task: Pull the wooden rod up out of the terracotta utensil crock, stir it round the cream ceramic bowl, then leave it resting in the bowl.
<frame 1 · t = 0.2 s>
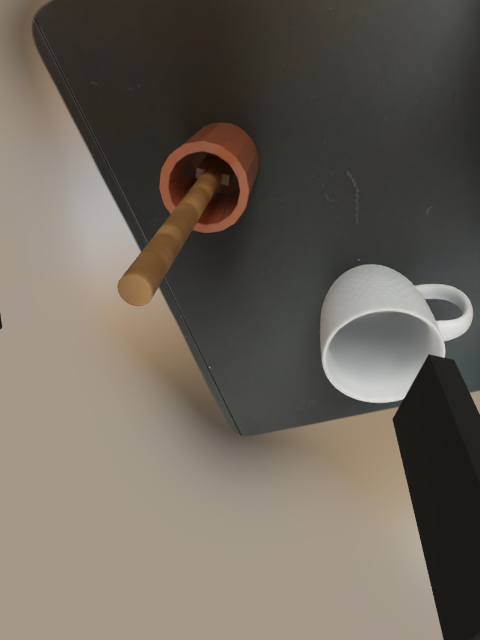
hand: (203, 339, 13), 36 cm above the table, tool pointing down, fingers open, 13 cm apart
crock: (222, 162, 45), on the table
mug: (375, 288, 51), on the table
wooden rod: (221, 164, 44), point 1 cm above the table, touching crock
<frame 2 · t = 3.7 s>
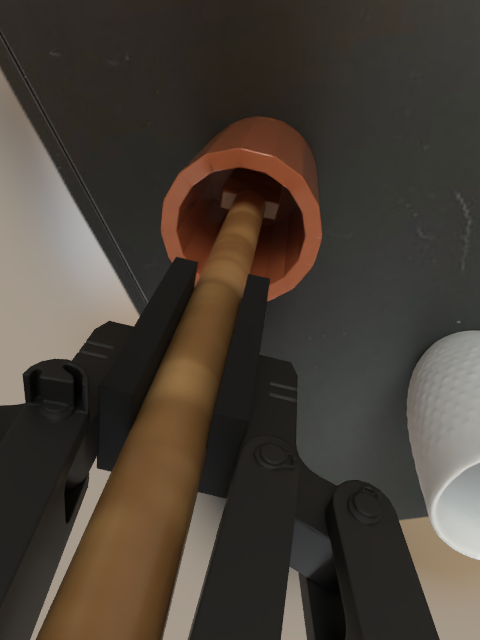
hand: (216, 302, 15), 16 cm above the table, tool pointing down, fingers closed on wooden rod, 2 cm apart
crock: (258, 178, 29), on the table
mug: (477, 361, 35), on the table
wooden rod: (257, 181, 28), point 1 cm above the table, touching gripper
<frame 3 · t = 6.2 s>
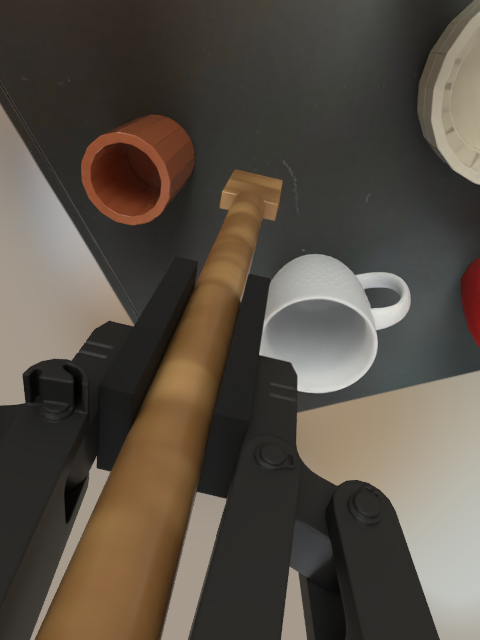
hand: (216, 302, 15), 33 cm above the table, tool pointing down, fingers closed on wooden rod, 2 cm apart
crock: (158, 154, 45), on the table
mug: (322, 279, 50), on the table
wooden rod: (257, 182, 28), point 17 cm above the table, touching gripper
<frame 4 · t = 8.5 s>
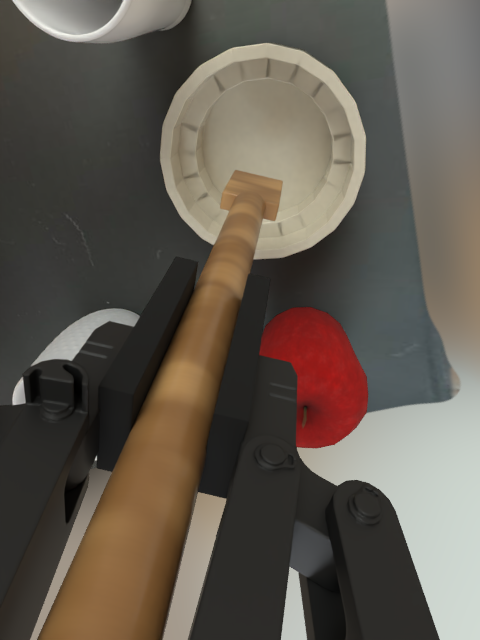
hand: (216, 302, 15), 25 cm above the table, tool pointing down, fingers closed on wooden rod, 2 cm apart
bowl: (266, 147, 36), on the table
mug: (134, 331, 48), on the table
wooden rod: (257, 182, 28), point 10 cm above the table, touching gripper
apple: (304, 331, 46), on the table
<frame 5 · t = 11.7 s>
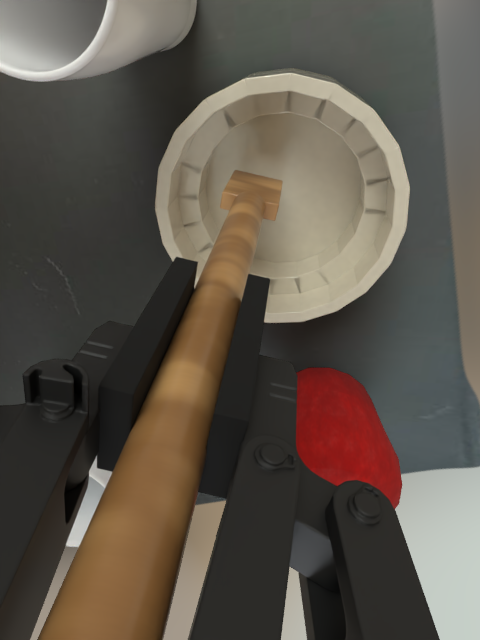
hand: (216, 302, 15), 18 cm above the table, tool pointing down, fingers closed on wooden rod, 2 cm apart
bowl: (282, 188, 31), on the table
mug: (126, 384, 43), on the table
wooden rod: (257, 182, 28), point 2 cm above the table, touching gripper
apple: (320, 390, 40), on the table
when the fingers open (16 cm above the table, at t = 13.7 s): wooden rod stays where it is, resting on bowl.
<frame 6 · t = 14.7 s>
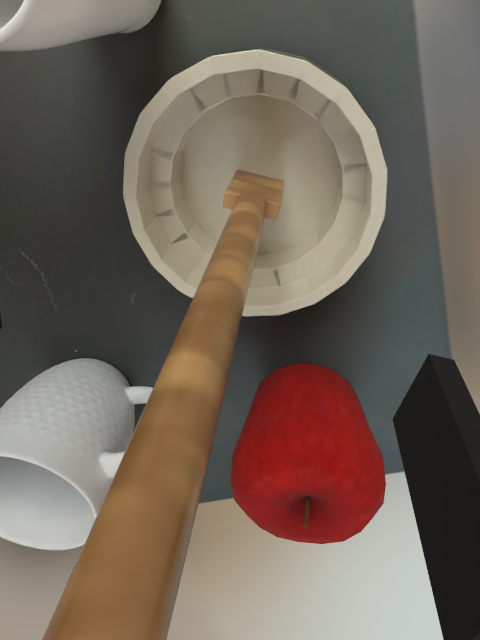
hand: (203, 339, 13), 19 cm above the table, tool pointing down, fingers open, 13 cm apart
bowl: (259, 177, 29), on the table
mug: (107, 382, 42), on the table
wooden rod: (259, 182, 29), point 1 cm above the table, touching bowl
apple: (306, 387, 39), on the table
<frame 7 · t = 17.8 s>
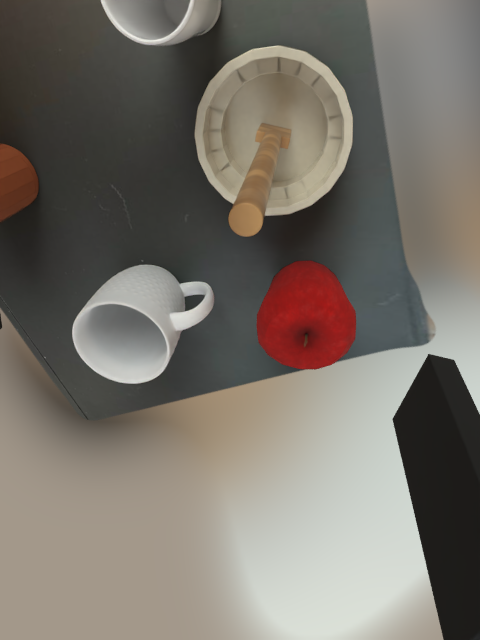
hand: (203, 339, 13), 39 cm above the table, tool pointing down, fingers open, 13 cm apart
crock: (8, 176, 52), on the table
bowl: (275, 128, 46), on the table
mug: (163, 286, 58), on the table
wooden rod: (275, 131, 45), point 1 cm above the table, touching bowl
drinking glass: (194, 2, 41), on the table
apple: (305, 284, 55), on the table
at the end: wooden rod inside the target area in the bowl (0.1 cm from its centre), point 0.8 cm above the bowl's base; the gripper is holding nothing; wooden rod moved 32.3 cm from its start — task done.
